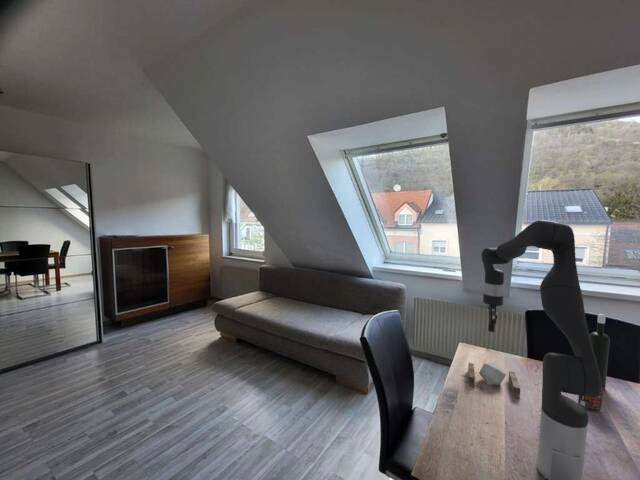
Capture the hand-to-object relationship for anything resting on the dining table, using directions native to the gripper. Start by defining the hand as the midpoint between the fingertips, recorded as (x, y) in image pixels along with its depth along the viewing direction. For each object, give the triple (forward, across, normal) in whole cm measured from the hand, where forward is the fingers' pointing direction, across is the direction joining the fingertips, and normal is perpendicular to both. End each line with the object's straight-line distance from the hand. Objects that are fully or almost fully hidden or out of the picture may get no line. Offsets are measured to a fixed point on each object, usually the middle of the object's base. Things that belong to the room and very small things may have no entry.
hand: (491, 331), depth 126 cm
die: (+18, -12, 0) cm, 21 cm away
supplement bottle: (+18, -14, -30) cm, 37 cm away
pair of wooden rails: (+17, -13, 0) cm, 22 cm away
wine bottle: (+18, +3, -37) cm, 41 cm away
